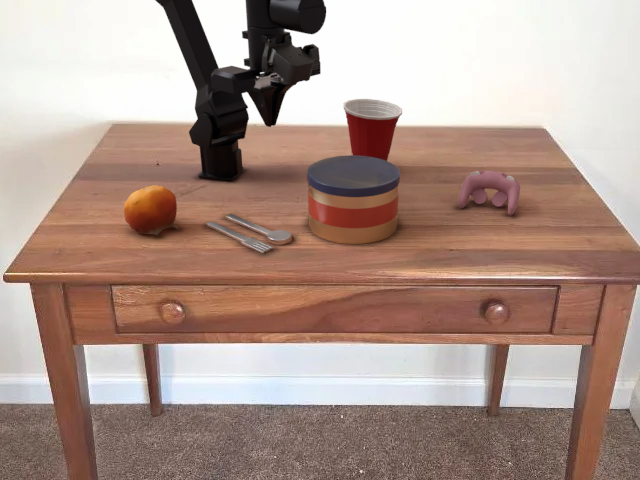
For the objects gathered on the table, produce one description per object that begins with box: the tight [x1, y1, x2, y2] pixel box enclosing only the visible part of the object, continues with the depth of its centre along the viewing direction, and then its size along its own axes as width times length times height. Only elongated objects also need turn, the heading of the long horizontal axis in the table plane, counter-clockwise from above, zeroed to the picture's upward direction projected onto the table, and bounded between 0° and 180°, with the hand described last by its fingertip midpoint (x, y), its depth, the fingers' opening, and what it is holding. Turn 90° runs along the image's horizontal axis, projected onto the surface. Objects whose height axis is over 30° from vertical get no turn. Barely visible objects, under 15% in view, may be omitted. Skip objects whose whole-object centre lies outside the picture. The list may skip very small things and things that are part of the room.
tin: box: [306, 154, 401, 245], centre depth 116 cm, size 14×14×9 cm
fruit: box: [122, 184, 179, 237], centre depth 115 cm, size 8×8×8 cm
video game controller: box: [457, 170, 521, 216], centre depth 125 cm, size 10×5×7 cm, turn 71°
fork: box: [205, 220, 274, 255], centre depth 114 cm, size 14×2×1 cm, turn 49°
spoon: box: [225, 213, 292, 246], centre depth 116 cm, size 14×4×1 cm, turn 49°
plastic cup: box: [342, 98, 403, 161], centre depth 137 cm, size 11×11×12 cm
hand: (270, 125), depth 123 cm, fingers closed
